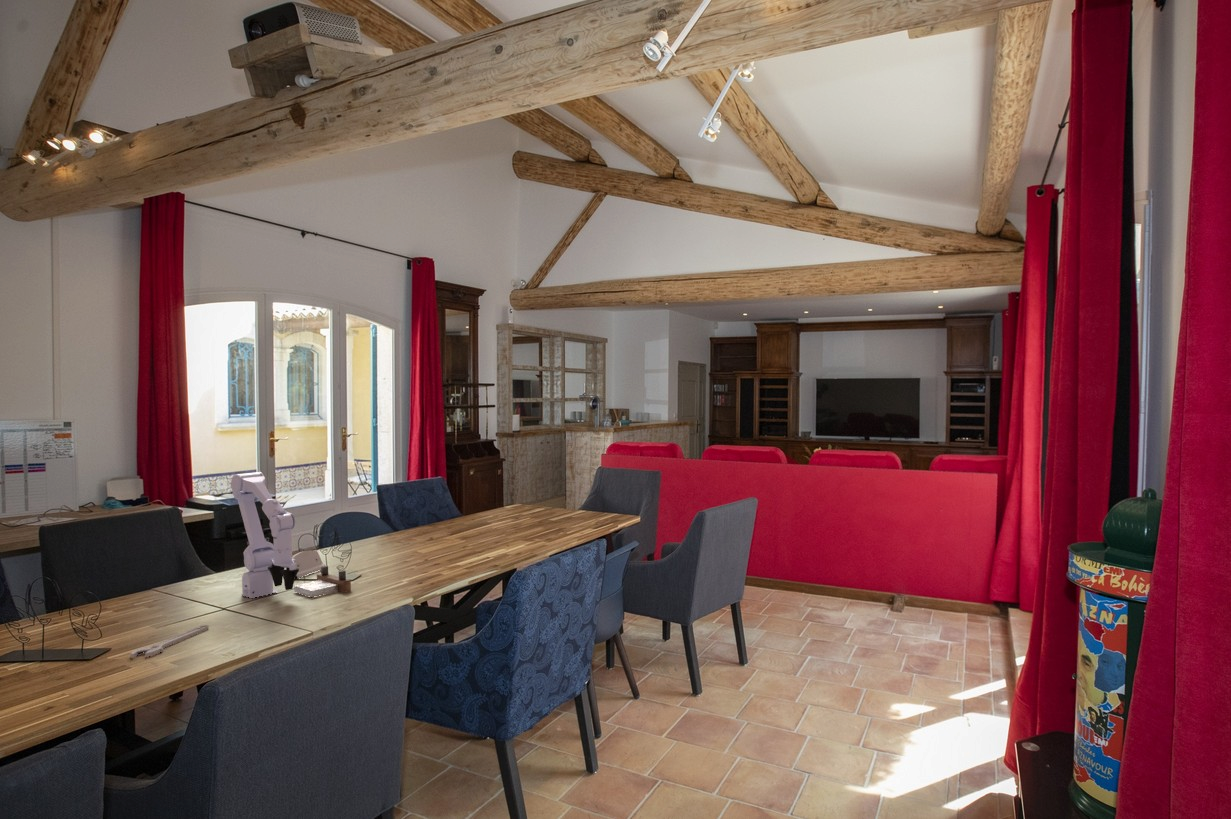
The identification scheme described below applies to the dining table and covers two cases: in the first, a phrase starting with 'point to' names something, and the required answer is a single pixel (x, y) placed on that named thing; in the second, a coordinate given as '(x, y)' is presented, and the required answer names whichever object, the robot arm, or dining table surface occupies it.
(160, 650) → the adjustable wrench
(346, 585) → the stop rail
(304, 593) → the plate
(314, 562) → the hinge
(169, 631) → the dining table surface
